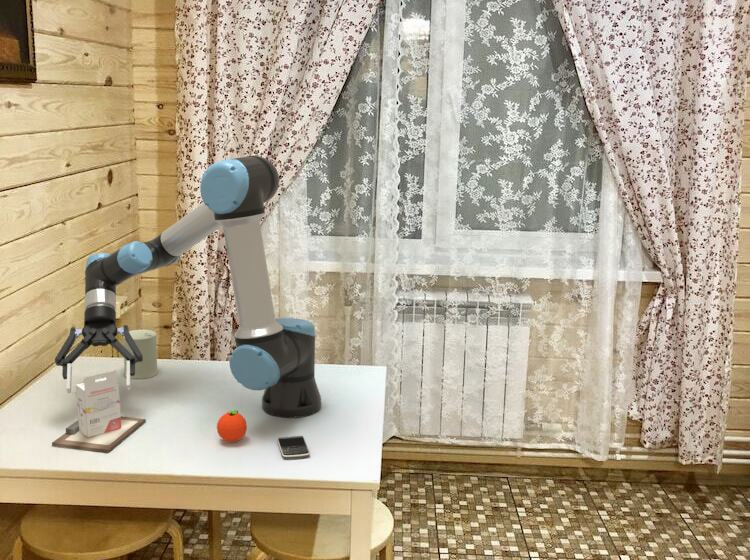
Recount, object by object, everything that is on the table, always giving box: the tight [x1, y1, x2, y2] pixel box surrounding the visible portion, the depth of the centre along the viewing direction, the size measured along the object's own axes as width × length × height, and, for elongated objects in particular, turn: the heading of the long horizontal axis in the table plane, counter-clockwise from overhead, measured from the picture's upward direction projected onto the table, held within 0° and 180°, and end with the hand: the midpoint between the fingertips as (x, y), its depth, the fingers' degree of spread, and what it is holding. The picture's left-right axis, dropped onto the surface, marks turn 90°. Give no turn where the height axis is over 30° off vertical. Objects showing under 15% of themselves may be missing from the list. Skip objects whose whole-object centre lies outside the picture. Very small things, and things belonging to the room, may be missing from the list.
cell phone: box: [276, 435, 311, 460], centre depth 198 cm, size 6×11×1 cm, turn 14°
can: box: [122, 329, 159, 380], centre depth 242 cm, size 9×9×12 cm
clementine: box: [216, 410, 248, 443], centre depth 201 cm, size 8×7×7 cm
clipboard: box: [51, 415, 147, 454], centre depth 203 cm, size 14×18×2 cm
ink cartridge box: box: [75, 369, 121, 437], centre depth 201 cm, size 9×5×15 cm, turn 132°
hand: (98, 389), depth 206 cm, fingers open, 13 cm apart
